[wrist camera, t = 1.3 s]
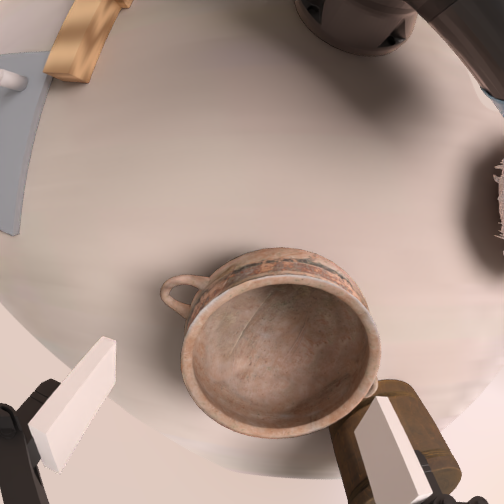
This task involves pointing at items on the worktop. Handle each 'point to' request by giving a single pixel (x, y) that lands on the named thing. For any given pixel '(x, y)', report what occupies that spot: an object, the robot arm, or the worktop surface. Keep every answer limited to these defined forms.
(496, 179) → the bowl
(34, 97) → the pintle base
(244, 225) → the worktop surface
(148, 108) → the worktop surface
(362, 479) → the wooden container
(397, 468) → the robot arm
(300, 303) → the cooking pot
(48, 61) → the link
